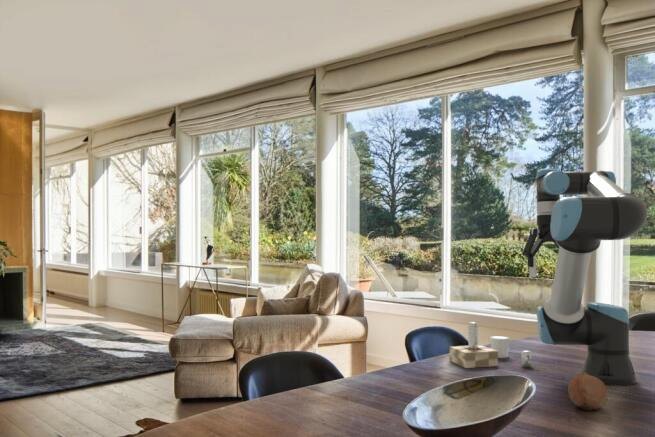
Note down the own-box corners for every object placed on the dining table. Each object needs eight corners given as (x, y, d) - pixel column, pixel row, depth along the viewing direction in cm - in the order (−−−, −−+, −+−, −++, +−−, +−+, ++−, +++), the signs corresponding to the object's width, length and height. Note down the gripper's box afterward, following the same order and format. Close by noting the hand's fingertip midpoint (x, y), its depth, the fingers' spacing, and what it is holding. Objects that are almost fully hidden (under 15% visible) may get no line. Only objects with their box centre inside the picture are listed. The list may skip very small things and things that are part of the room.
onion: (579, 415, 163) (574, 377, 168) (616, 412, 157) (609, 373, 162) (564, 409, 157) (559, 370, 162) (602, 406, 151) (595, 365, 156)
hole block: (497, 365, 210) (497, 351, 210) (465, 368, 207) (465, 353, 207) (480, 358, 221) (480, 344, 221) (449, 360, 218) (449, 346, 218)
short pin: (533, 366, 208) (533, 352, 208) (524, 367, 207) (524, 352, 207) (527, 364, 211) (527, 350, 211) (519, 365, 210) (519, 350, 210)
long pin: (479, 364, 213) (479, 323, 213) (471, 364, 212) (471, 323, 212) (475, 362, 216) (475, 321, 216) (467, 362, 215) (466, 322, 215)
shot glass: (511, 358, 222) (511, 338, 222) (492, 358, 222) (492, 338, 222) (506, 354, 229) (506, 335, 229) (488, 354, 229) (488, 335, 229)
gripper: (569, 215, 220) (570, 275, 219) (511, 214, 211) (512, 276, 210) (585, 214, 213) (586, 276, 212) (525, 213, 204) (526, 277, 203)
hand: (549, 276), depth 211 cm, fingers open, 13 cm apart
